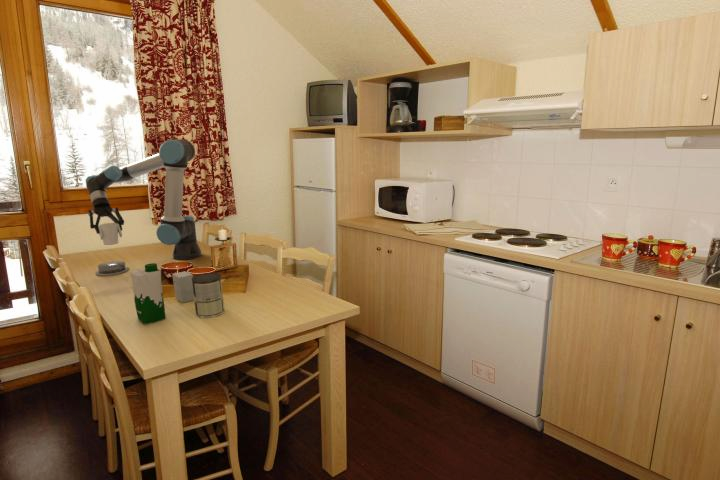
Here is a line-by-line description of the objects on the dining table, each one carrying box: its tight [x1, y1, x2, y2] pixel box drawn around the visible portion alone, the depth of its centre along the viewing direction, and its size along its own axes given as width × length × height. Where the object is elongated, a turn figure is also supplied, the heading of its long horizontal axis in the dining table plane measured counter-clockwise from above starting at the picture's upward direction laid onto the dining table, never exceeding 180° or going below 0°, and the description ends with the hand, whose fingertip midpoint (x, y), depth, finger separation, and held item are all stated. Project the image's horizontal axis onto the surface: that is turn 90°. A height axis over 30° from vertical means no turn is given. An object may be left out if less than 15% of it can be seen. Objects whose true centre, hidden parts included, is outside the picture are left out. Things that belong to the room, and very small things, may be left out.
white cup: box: [98, 222, 120, 246], centre depth 227 cm, size 8×8×10 cm
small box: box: [171, 271, 194, 303], centre depth 183 cm, size 8×6×10 cm
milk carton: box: [130, 262, 166, 325], centre depth 161 cm, size 9×9×20 cm
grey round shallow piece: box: [95, 260, 130, 277], centre depth 229 cm, size 15×15×4 cm
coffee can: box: [192, 272, 226, 319], centre depth 167 cm, size 10×10×14 cm
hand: (111, 236), depth 225 cm, fingers closed on white cup, 8 cm apart
